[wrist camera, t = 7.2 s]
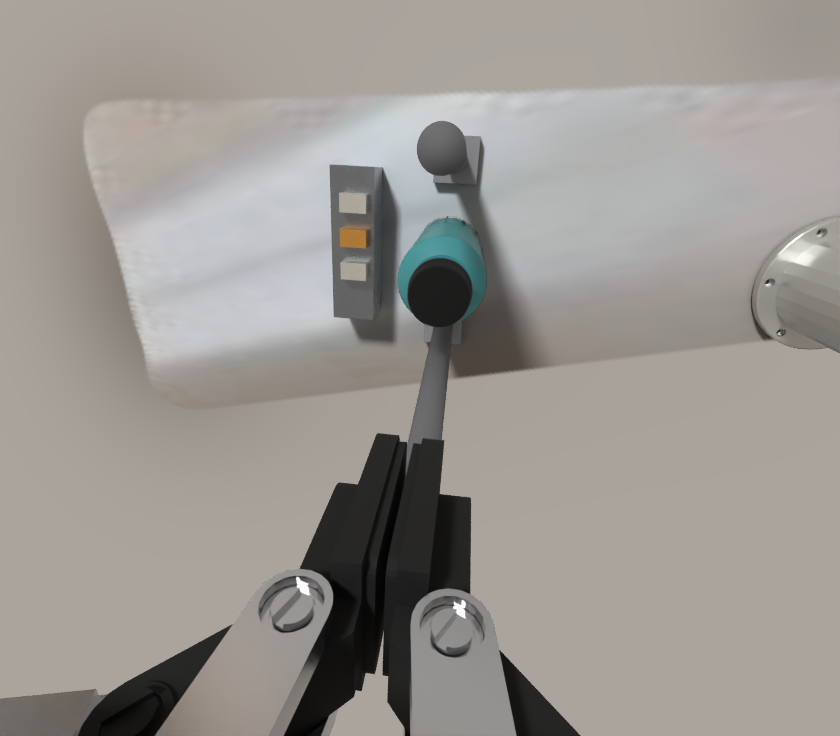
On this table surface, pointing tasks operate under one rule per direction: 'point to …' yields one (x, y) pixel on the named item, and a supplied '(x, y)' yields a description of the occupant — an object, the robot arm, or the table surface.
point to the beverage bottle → (443, 273)
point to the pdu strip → (356, 240)
